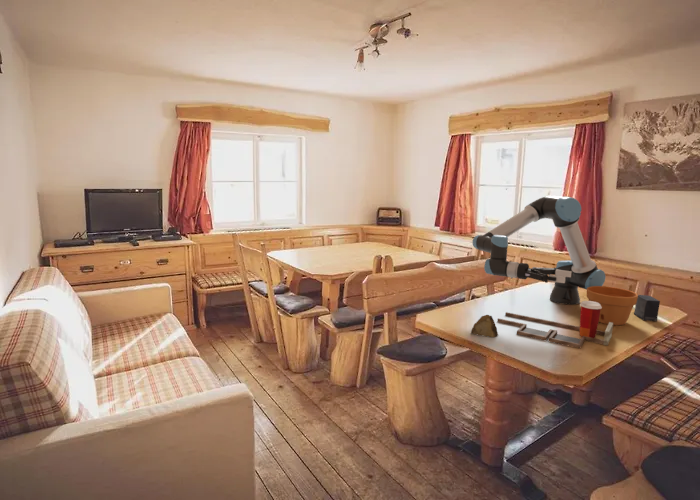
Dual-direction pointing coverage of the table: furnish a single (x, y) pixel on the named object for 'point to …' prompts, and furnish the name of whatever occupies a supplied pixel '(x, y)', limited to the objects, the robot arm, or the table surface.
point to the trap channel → (554, 336)
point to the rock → (485, 327)
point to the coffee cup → (589, 318)
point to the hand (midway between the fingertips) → (568, 277)
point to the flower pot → (613, 303)
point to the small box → (647, 308)
